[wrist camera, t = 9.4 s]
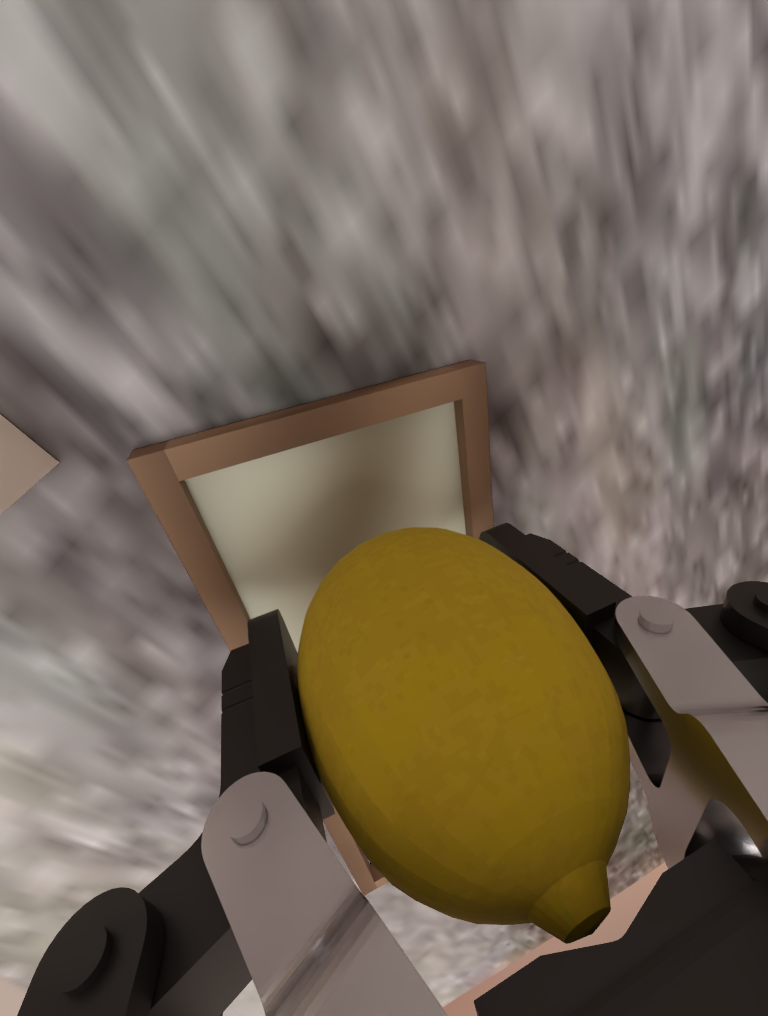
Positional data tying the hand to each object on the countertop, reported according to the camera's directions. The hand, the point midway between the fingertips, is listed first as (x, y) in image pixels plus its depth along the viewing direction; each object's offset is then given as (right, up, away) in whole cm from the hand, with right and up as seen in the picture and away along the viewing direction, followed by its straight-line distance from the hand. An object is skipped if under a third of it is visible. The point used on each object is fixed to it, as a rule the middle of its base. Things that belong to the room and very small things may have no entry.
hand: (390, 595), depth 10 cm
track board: (0, -6, +6) cm, 9 cm away
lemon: (-1, +1, +1) cm, 2 cm away
